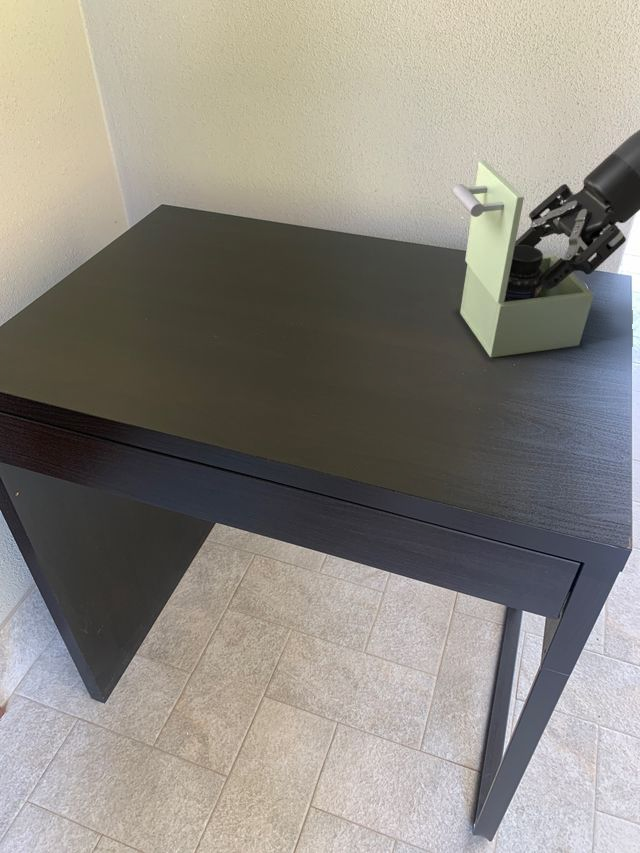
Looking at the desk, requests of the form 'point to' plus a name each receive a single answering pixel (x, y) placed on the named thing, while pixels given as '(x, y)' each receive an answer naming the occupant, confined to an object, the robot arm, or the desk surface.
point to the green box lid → (491, 227)
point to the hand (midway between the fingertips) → (528, 268)
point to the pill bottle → (524, 274)
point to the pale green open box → (527, 315)
